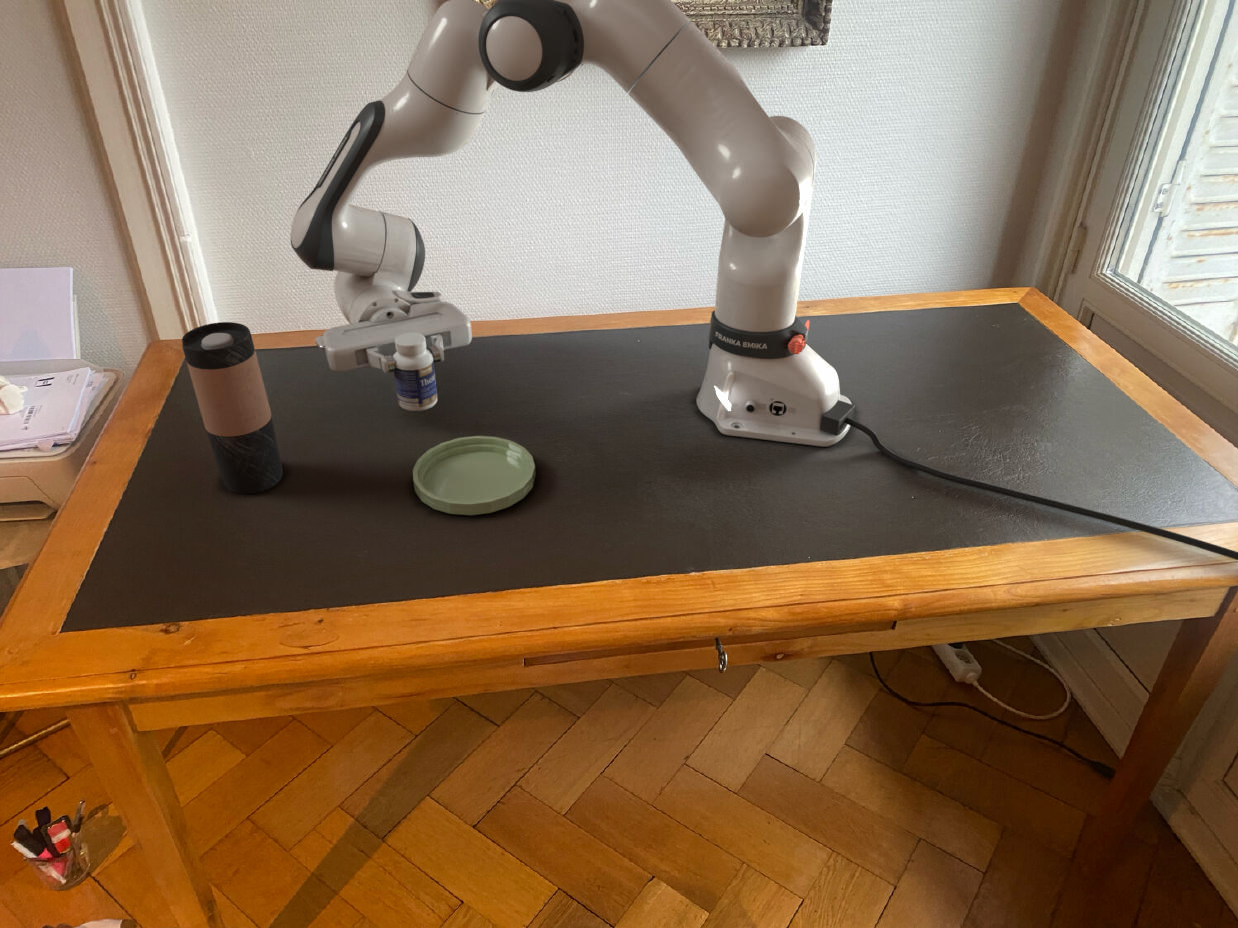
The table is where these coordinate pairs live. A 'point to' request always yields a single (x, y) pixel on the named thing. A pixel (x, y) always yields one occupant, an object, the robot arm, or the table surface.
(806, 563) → the table surface
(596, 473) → the table surface
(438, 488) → the dish
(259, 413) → the travel mug
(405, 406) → the pill bottle
